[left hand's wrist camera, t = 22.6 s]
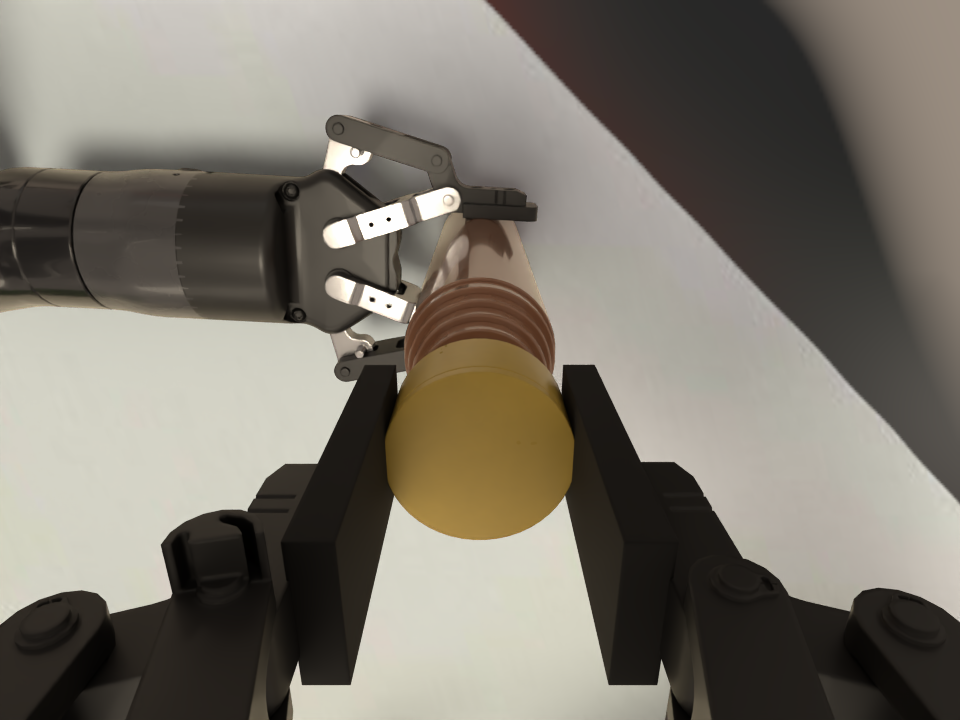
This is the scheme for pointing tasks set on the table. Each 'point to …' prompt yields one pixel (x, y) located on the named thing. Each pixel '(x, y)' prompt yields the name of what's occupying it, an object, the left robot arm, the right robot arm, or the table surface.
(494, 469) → the cap
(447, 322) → the bottle
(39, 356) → the table surface
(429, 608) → the table surface
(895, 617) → the left robot arm
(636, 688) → the table surface
